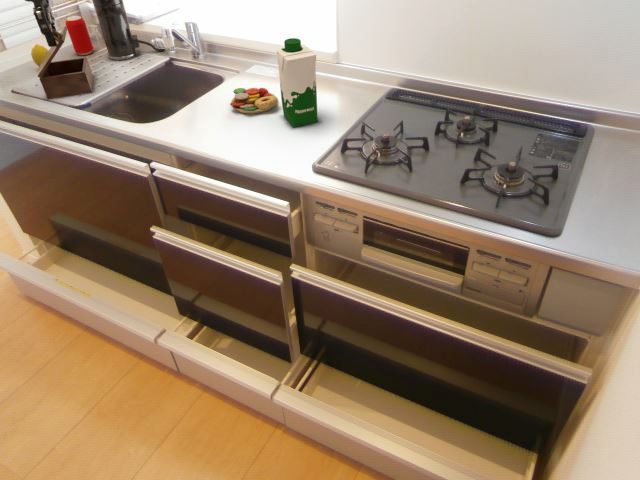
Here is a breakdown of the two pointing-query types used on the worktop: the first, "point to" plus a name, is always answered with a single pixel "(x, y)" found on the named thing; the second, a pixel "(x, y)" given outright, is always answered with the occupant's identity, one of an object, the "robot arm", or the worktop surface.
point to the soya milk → (298, 82)
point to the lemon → (38, 54)
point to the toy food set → (253, 100)
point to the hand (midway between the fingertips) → (54, 42)
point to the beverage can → (79, 35)
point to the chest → (67, 78)
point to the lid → (52, 50)
